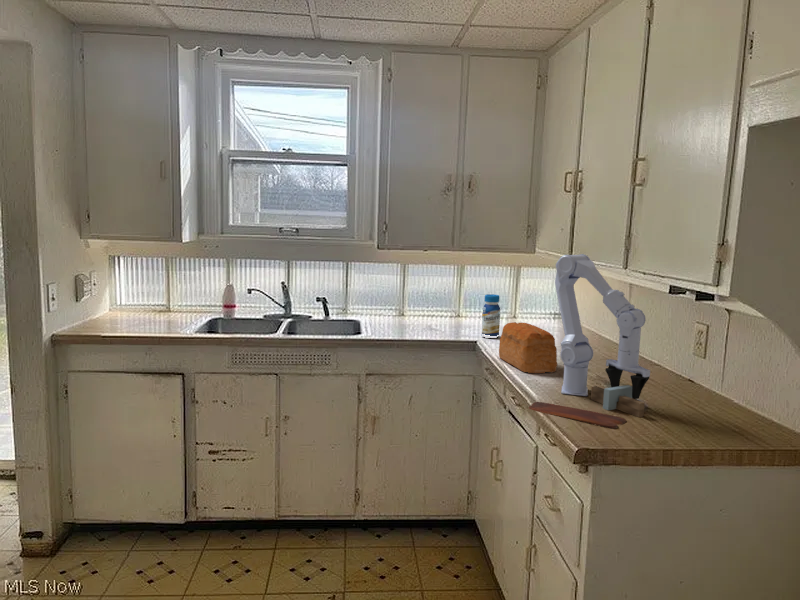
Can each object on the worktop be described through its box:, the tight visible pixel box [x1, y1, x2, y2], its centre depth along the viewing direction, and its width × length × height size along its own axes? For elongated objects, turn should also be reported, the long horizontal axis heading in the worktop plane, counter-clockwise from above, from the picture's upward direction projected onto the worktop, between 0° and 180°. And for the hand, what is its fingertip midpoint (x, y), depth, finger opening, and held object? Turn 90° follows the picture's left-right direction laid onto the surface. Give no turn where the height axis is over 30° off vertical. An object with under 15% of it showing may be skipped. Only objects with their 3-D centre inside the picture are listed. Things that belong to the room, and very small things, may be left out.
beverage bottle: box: [481, 293, 501, 336], centre depth 273 cm, size 8×8×20 cm
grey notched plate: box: [602, 384, 632, 411], centre depth 173 cm, size 10×2×6 cm, turn 118°
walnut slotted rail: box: [590, 385, 646, 418], centre depth 173 cm, size 18×2×4 cm, turn 28°
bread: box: [498, 321, 558, 374], centre depth 222 cm, size 14×27×15 cm, turn 13°
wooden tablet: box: [528, 401, 627, 430], centre depth 166 cm, size 27×10×2 cm, turn 52°
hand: (625, 394), depth 174 cm, fingers open, 7 cm apart
